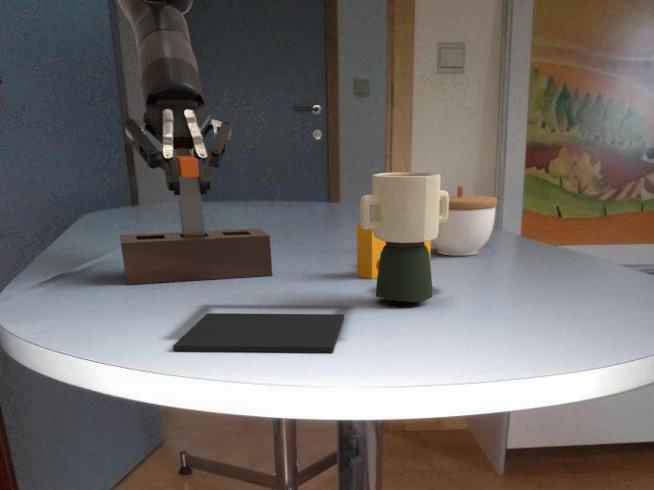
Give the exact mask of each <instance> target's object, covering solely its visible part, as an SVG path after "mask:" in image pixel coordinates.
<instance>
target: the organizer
mask: <svg viewBox="0 0 654 490" xmlns="http://www.w3.org/2000/svg"><path fill="white" fill-rule="evenodd" d="M204 231H205V237H186V238H183V235H182V231H175V232H154V233H153V232H151V233H131V234H120V235H119V240H120V248H121V254H122V260H123V269H124V274H125V275H124V276H125V280H126V285H127V286H131V284H134V285H146V284H145V283H150V284H158V283H157V282H166V283H174V282H173V281H181V282H193V281H192V280H197V281H206V280H205V279H212V280H224V279H223V278H228V279H238V278H239V279H243V278H242V277H244V278H256V277H257V278H258V277H259V278H260V277H272V276H273V265H272V262H273V261H272V248H271V246H272V245H271V236H270V235H269V233H267V232H265V231H264V230H262V229H261V228H239V229H238V228H237V229H219V230H204ZM171 281H172V282H171Z"/></svg>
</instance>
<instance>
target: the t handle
mask: <svg viewBox="0 0 654 490" xmlns="http://www.w3.org/2000/svg"><path fill="white" fill-rule="evenodd" d="M174 159H175V160H176V166H177V172H178V177H179V183H180V195H177V198H178V199H177V200H178V207H179V208H178V209H179V216H180V225H181V232H182V235H183V238H186V237H205V231H206V230H205V221H204V211H203V201H202V195H201V191H200V181H199V170H198V160H197V158H194V157H192V155H174Z"/></svg>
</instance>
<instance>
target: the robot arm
mask: <svg viewBox="0 0 654 490" xmlns="http://www.w3.org/2000/svg"><path fill="white" fill-rule="evenodd" d="M116 1H117V3H118V5H119V7H120V9H121V11H122V13H123V14H124V16H125V18H126V19H127V22H129V24H130V25H131V28H132V31H133V35H134V39H135V44H136V50H137V57H138V58H137V67H138V74H139V79H138V80H139V83H140V86H141V91H142V92H141V93H142V97H143V103H144V112H143V115H142V118H141V119H139V120H136V121H135V120H134V119H133V118H131V117H129V118H126V119H125V120H124V127H125V128H124V129H125V137H126V140H127V141H128V142H129V143H130V145H131V146H132V147H133V148H134V150H135V151H136V152H137V153H138V155H139V156H140V157H141V159H142V160H143V161H144V162H145V164H146V165H147V166H148V168H150V169H153V170H154V169H157V168H160V169H162V170H163V172H164V177H165V183H166V188H167V189H168V191H169V192H173V196H178V195H180V183H179V177H178V175H179V174H178V172H177V166H176V160H175V150H180V149H185V150H189V152H190V154H191V155H190V156H192V157H194V158H197V160H198V170H199V181H200V191H201V196H202V195H207V194H208V191H210V190H211V187H212V175H211V170H210V168H212V167H213V168H215V169H217V168H218V169H219V168H220V167H221V165H222V163H223V159H224V157H225V155H226V152H227V150H228V147H229V144H230V142H231V139H232V129H233V121H232V120H231V119H229V118H223V119H222V121H221V120H217V119H215V118H213V116H212V114H211V113H210V111H208V109H207V107H206V102H205V97H204V92H203V87H202V83H201V82H202V81H201V75H200V71H199V67H198V66H199V65H198V62H197V59H196V57H195V54H194V52H193V47H192V41H191V37H190V31H189V26H188V23H187V20H186V18H185V17H184V15H185V14H187V13H188V12H189V11H190V10H191V8H192V6H193V4H194V0H116ZM210 131H211V132H213V138H214V141H213V143H212V145H211V149H208V150H207V149H206V146H205V143H204V139H205V138H206V137H207V135H208V134H209V133H210ZM147 132H148V133H149V134H150V135H151V136H153V138H155V139H156V140H157V141H158V142H159V143H160V144H161V145H162V151H160V150H158V148H157V147H156V146H155V144H154V143H153V142H152V141H151V140H150V138H149V137H148V136H147Z"/></svg>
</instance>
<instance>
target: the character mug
mask: <svg viewBox="0 0 654 490" xmlns="http://www.w3.org/2000/svg"><path fill="white" fill-rule="evenodd" d="M449 195H450V194H449V192H448V191H446V190H444V189H443V190H441V174H440V173H435V172H412V171H411V172H407V171H405V172H404V171H400V172H381V173H375V174H372V180H371V194H365V195H363V196H362V197H361V198H360V200H359V201H360V202H359V204H360V205H359V211H360V213H359V214H360V215H359V216H360V217H359V218H360V222H359V223H361V226H362V229H365V230H369V229H372V231H373V234H374V236H375V238H377V239H379V240H382V241H385V242H386V245H385V246H384V247H383V249H382V252H381V254H380V262H379V269H378V276H377V278H376V288H375V298H381V299H385V300H389V301H390V303H391V304H393V305H395V304H396V302H403V303H404V302H405V303H416V302H418V303H420V302H425V301H427V300H429V299H431V298H433V277H432V268H431V255H430V256H429V251H428V249H427V246H425V245H424V242H426V241H430V240H433V239H435V238H437V236H438V232H439V223H444V222H446V221H447V219H448V209H449ZM439 207H440V209H439Z"/></svg>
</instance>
